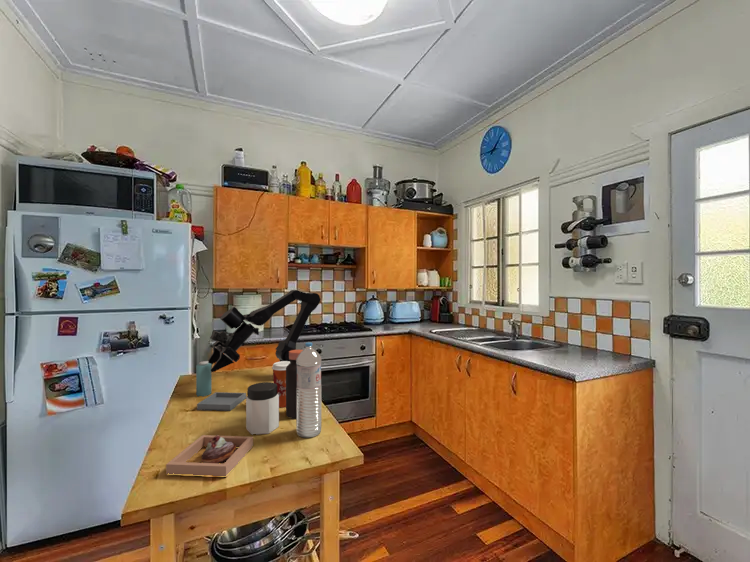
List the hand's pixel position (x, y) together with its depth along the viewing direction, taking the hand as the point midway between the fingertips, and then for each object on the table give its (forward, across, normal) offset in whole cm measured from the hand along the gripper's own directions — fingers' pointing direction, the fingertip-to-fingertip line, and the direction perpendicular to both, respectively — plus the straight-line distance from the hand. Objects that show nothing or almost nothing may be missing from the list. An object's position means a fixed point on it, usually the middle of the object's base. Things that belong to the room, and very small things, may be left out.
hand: (208, 368), depth 124 cm
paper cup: (-6, +28, +19) cm, 34 cm away
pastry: (+12, +50, +2) cm, 52 cm away
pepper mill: (+8, 0, +5) cm, 9 cm away
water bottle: (-4, +52, +18) cm, 55 cm away
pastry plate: (+13, +51, 0) cm, 52 cm away
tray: (+5, +15, +8) cm, 17 cm away
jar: (+2, +41, +11) cm, 43 cm away
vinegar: (-6, +38, +19) cm, 43 cm away
